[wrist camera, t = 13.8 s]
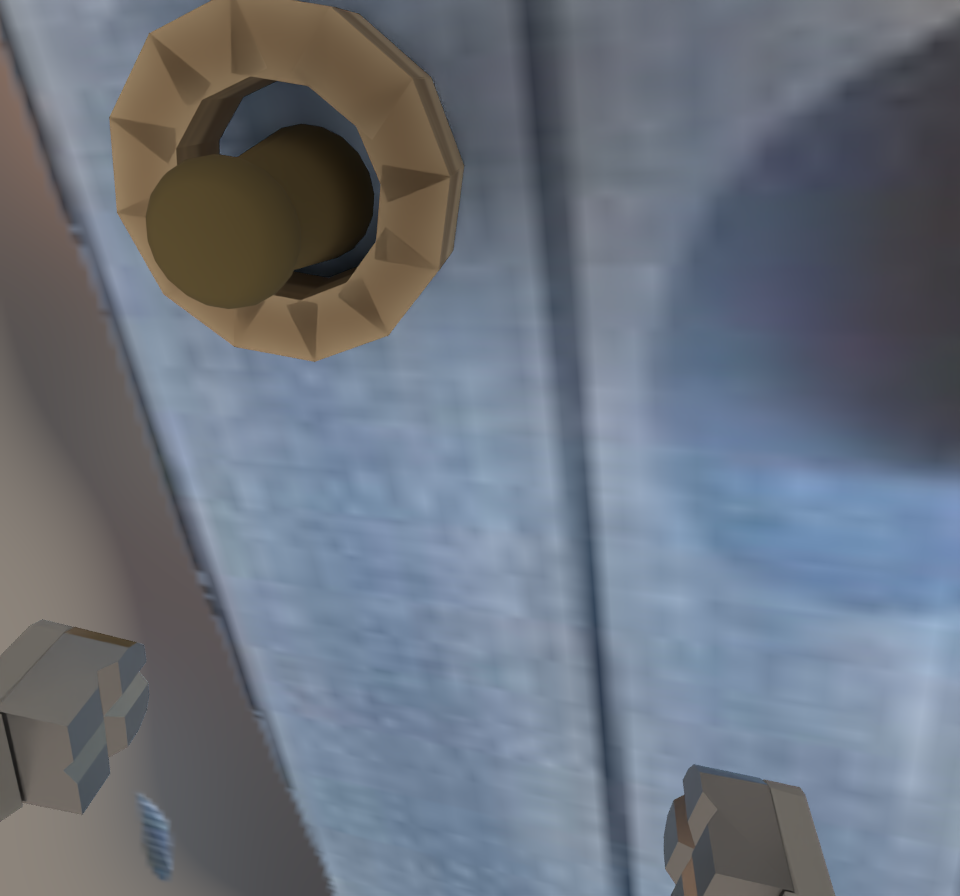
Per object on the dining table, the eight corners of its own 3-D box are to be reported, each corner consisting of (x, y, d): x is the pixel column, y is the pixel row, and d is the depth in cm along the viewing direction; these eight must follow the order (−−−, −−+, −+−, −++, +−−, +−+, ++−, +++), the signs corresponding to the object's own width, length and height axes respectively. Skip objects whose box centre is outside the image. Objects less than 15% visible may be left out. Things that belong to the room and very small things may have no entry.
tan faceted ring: (152, -21, 31) (96, -33, 27) (481, 34, 30) (468, 28, 27) (169, 302, 37) (126, 326, 34) (439, 352, 37) (425, 382, 33)
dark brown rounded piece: (239, 238, 35) (110, 301, 26) (256, 105, 33) (118, 119, 23) (359, 277, 36) (276, 354, 26) (387, 148, 33) (305, 180, 23)
